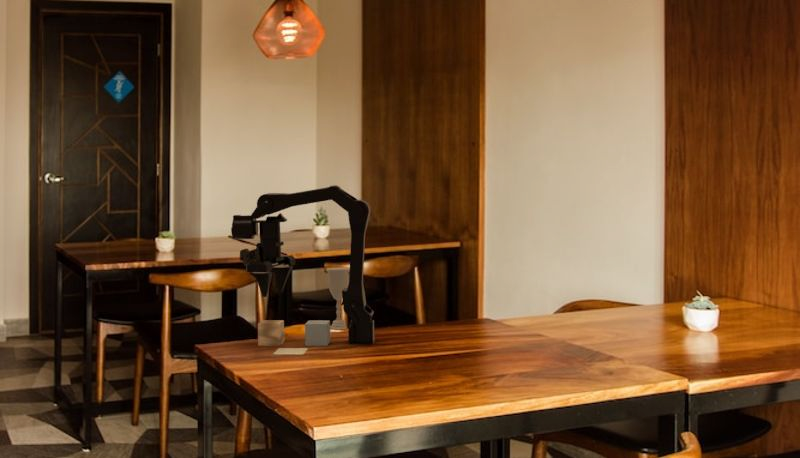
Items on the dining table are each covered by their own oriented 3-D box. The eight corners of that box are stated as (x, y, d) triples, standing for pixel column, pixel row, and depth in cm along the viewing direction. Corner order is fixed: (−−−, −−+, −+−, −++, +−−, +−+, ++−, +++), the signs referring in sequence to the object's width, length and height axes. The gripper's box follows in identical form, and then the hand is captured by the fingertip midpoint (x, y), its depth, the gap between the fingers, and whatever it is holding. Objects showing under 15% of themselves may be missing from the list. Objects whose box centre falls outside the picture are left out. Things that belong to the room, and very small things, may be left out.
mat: (308, 349, 271) (308, 348, 271) (303, 355, 263) (303, 354, 263) (278, 349, 272) (278, 348, 272) (272, 355, 264) (272, 353, 264)
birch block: (284, 341, 282) (283, 320, 281) (280, 345, 276) (279, 323, 275) (263, 341, 282) (262, 320, 282) (258, 345, 276) (257, 323, 276)
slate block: (330, 341, 281) (330, 320, 280) (327, 345, 275) (326, 324, 274) (309, 341, 281) (308, 320, 281) (305, 345, 275) (304, 324, 275)
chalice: (352, 326, 308) (351, 267, 306) (349, 330, 301) (348, 270, 300) (328, 326, 308) (327, 267, 307) (324, 329, 302) (323, 270, 300)
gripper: (260, 235, 291) (262, 289, 292) (227, 241, 273) (230, 298, 275) (295, 235, 287) (297, 290, 288) (264, 241, 270) (266, 299, 271)
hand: (272, 294), depth 280 cm, fingers open, 9 cm apart
